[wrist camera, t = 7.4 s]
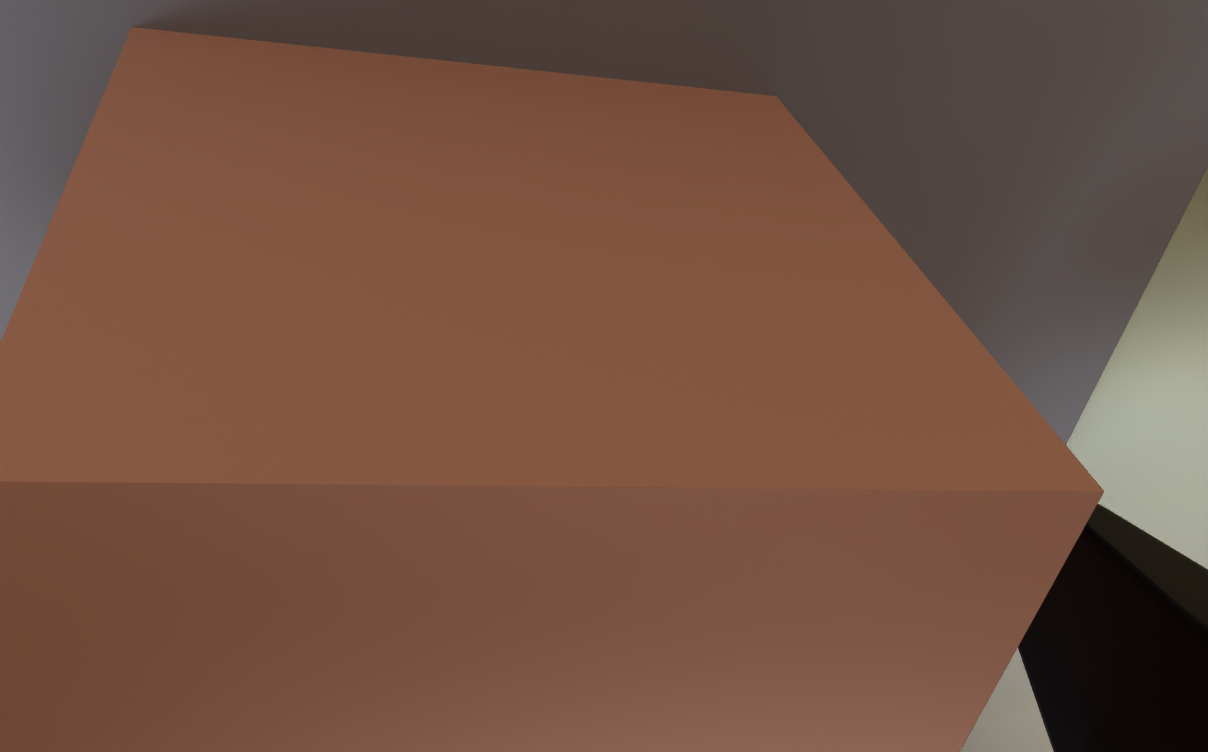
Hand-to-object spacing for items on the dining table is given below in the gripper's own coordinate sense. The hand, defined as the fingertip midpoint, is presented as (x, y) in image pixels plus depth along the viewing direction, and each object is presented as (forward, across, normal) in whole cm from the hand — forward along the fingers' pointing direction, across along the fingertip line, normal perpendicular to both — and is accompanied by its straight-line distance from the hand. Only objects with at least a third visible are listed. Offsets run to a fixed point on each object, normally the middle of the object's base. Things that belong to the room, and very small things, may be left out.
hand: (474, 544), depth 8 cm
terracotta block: (+3, 0, 0) cm, 3 cm away
